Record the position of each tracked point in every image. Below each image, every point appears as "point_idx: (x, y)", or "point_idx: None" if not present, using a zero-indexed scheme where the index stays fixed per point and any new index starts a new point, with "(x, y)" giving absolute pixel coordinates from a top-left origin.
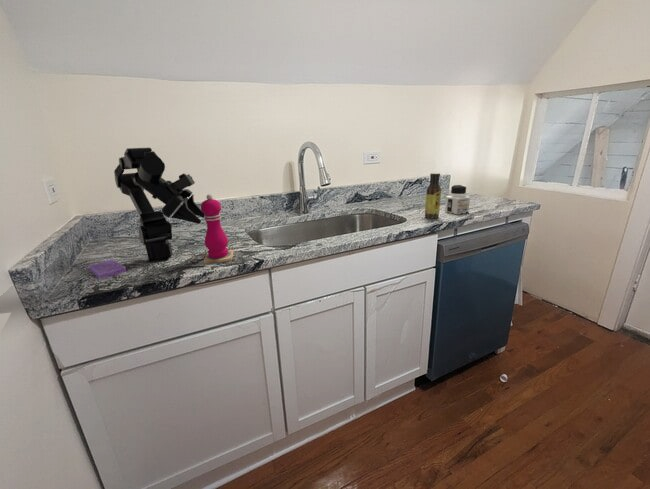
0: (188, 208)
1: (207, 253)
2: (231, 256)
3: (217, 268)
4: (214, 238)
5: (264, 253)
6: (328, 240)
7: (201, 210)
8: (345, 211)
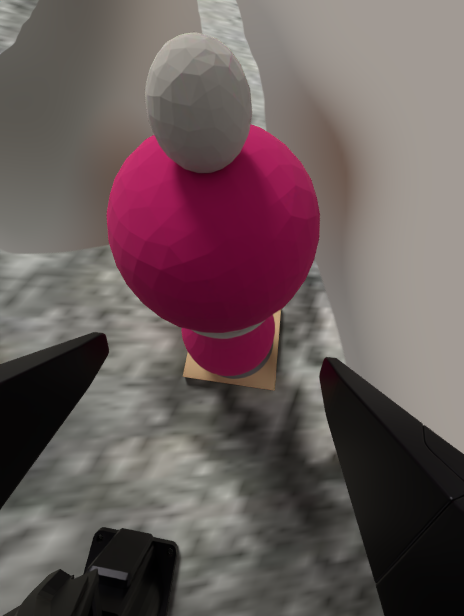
0: (453, 498)
1: (194, 376)
2: None
3: (330, 348)
4: (271, 325)
5: None
6: None
7: (230, 331)
8: (14, 24)
